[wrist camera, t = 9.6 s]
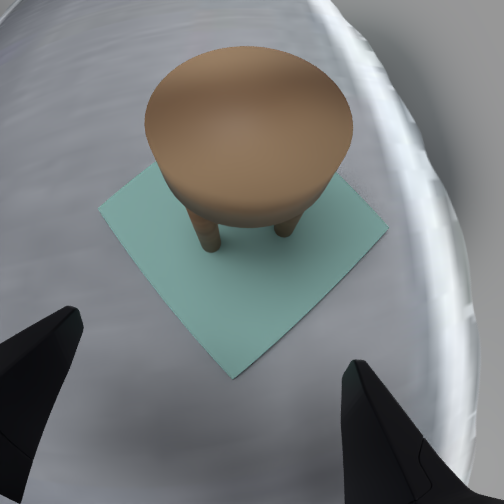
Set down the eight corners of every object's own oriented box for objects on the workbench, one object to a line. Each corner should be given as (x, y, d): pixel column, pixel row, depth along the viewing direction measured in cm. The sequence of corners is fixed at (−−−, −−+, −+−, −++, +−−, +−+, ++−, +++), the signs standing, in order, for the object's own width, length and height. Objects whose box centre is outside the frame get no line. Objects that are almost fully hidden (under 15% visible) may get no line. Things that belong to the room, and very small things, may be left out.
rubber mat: (385, 230, 19) (389, 227, 19) (232, 377, 16) (232, 379, 16) (251, 103, 21) (251, 98, 21) (101, 211, 19) (97, 208, 18)
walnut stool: (310, 256, 18) (384, 180, 8) (198, 280, 17) (152, 222, 7) (281, 160, 19) (312, 42, 10) (181, 179, 19) (144, 63, 9)
